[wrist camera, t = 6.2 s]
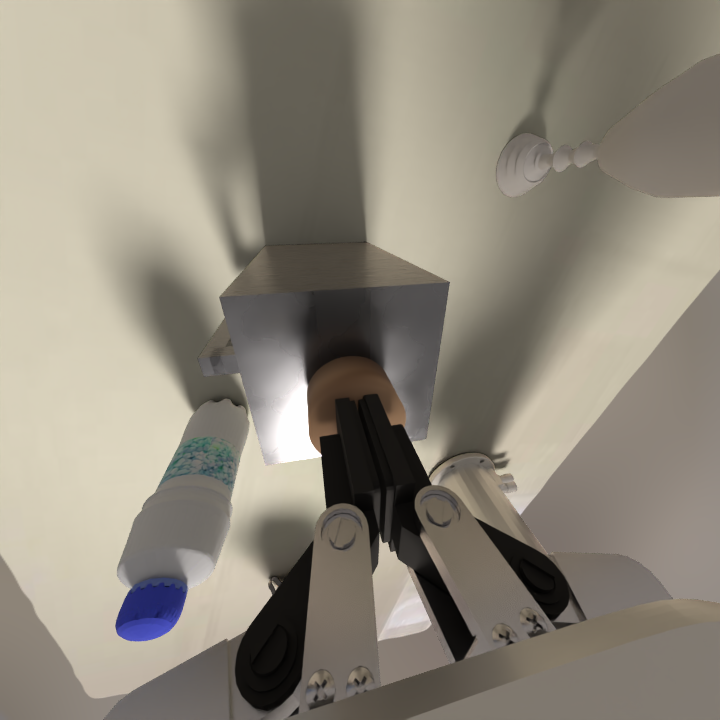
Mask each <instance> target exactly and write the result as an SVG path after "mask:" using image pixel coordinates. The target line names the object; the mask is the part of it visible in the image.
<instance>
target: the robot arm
mask: <svg viewBox="0 0 720 720" xmlns="http://www.w3.org/2000/svg"><path fill="white" fill-rule="evenodd" d="M335 410H336V423H337V434H333V435H327V436H321V437H319V438H320V448H321V459H322V469H323V479H324V489H325V499H326V510H325V511H324V512H323V513H322V514H321V516H320V517H319V519H318V521H317V523H316V528H315V533H314V540H313V542H312V543H311V544H310V546H309V547H308V548H307V550H306V551H305V552H304V554H303V555H302V556H301V558H300V559H299V560H298V562H297V563H296V564H295V566H294V567H293V568H292V570H291V571H290V572H289V574H288V575H287V576H286V578H285V579H284V581H283V582H282V583H281V585H280V586H279V587H278V589H277V590H276V591H275V593H274V594H273V595H272V597H271V598H270V599H269V601H268V602H267V603H266V605H265V606H264V607H263V609H262V610H261V611H260V613H259V614H258V615H257V617H256V618H255V619H254V621H253V622H252V623H251V625H250V626H249V628H248V629H247V631H245V632H244V633H242V634H240V635H238V636H237V637H235V638H233V639H231V640H229V641H228V639H225V640H223V641H221V642H219V643H218V644H216V645H214V646H212V647H210V648H209V649H207V650H205V651H203V652H201V653H200V654H198V655H196V656H194V657H192V658H191V659H189V660H187V661H185V662H183V663H182V664H180V665H178V666H176V667H174V668H173V669H171V670H169V671H167V672H166V673H164V674H162V675H160V676H158V677H157V678H155V679H153V680H151V681H149V682H148V683H146V684H144V685H142V686H140V687H139V688H137V689H135V690H133V691H132V692H130V693H129V694H128V695H127V696H125V697H124V698H123V699H121V700H120V701H119V702H118V703H117V704H116V705H115V706H114V707H113V708H112V710H111V711H110V712H109V713H108V714H107V716H106V717H105V718H104V719H103V720H720V603H717V602H710V601H704V600H698V599H673V598H672V597H671V595H670V594H669V593H668V591H667V590H666V589H665V588H664V586H663V585H662V584H661V582H660V581H659V580H658V579H657V578H656V577H655V576H654V575H653V573H651V571H650V570H648V569H647V568H646V567H644V566H643V565H642V564H640V563H639V562H637V561H635V560H633V559H631V558H629V557H627V556H623V555H619V554H602V553H576V552H551V554H550V555H549V554H547V552H546V551H545V550H544V548H543V547H542V546H541V544H540V543H539V541H538V540H537V539H536V537H535V536H534V534H533V533H532V532H531V530H530V529H529V528H528V526H527V525H526V523H525V522H524V521H523V519H522V518H521V516H520V515H519V514H518V512H517V511H516V509H515V508H514V507H513V505H512V504H511V503H510V501H509V500H508V498H507V497H506V496H505V494H504V493H510V492H515V491H517V486H516V483H515V482H514V478H513V476H512V475H511V474H510V473H509V474H504V475H501V476H499V475H497V474H496V473H495V466H494V464H493V462H492V461H491V460H490V459H489V457H487V456H486V455H483V454H481V453H466V454H461V455H458V456H455V457H453V458H451V459H449V460H447V461H446V462H444V463H443V464H441V465H440V466H439V467H438V468H437V469H436V470H435V471H434V472H433V473H432V475H431V476H430V478H428V476H427V474H426V471H425V469H424V467H423V465H422V463H421V461H420V459H419V457H418V455H417V453H416V451H415V449H414V447H413V445H412V443H411V441H410V439H409V436H408V434H407V432H406V430H405V428H404V427H403V425H402V424H397V425H391V424H390V421H389V419H388V417H387V414H386V412H385V410H384V407H383V405H382V403H381V400H380V398H379V396H378V394H370V395H364V396H363V399H361V400H358V409H357V406H356V403H355V400H353V401H350V399H349V397H348V398H340V399H335ZM379 532H380V536H381V539H382V542H383V543H385V542H388V544H389V548H390V551H391V552H393V551H396V554H397V557H398V559H399V560H400V561H402V562H403V563H404V564H406V565H407V567H408V571H409V573H410V576H411V578H412V580H413V582H414V585H415V587H416V589H417V591H418V594H419V596H420V598H421V600H422V603H423V605H424V607H425V609H426V612H427V614H428V616H429V618H430V621H431V623H432V625H433V627H434V630H435V632H436V634H437V636H438V638H439V641H440V643H441V645H442V647H443V650H444V652H445V654H446V657H447V659H448V661H449V663H450V664H449V665H446V666H443V667H440V668H437V669H434V670H430V671H427V672H424V673H421V674H419V675H415V676H412V677H409V678H406V679H403V680H400V681H397V682H394V683H391V684H388V685H385V686H382V687H381V682H380V669H379V656H378V644H377V630H376V617H375V604H374V591H373V579H372V575H373V573H374V571H375V569H376V567H377V565H378V554H379Z"/></svg>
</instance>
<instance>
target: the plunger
mask: <svg viewBox="0 0 720 720" xmlns="http://www.w3.org/2000/svg"><path fill="white" fill-rule="evenodd" d="M370 394H378V396H379V398H380V400H381V403H382V405H383V407H384V410H385V412H386V414H387V417H388V419H389V421H390V424H391V425H397V424H402V425H403V427H405V423H406V413H405V409H404V406H403V404H402V402H401V401H400V399H399V397H398V395H397V393H396V391H395V389H394V387H393V385H392V384H391V382H390V380H389V378H388V376H387V374H386V372H385V371H384V369H383V368H382V367H381V366H380V365H379V364H377V363H376V362H374V361H372V360H370V359H368V358H365V357H360V356H346V357H341V358H337V359H335V360H332V361H330V362H328V363H326V364H325V365H323V366H322V367H321V368H320V369H319V370H317V371H316V373H315V374H314V375H313V377H312V378H311V380H310V382H309V384H308V388H307V410H308V432H309V439H310V441H311V444H312V445H313V447H314V448H315V449H316V450H317V452H319V453H320V454H321V448H320V438H319V437H321V436H327V435H333V434H337V423H336V410H335V399H340V398H348V397H349V399H350V401H353V400H355V403H356V406H357V409H358V400H361V399H363V396H364V395H370Z"/></svg>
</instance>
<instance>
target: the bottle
mask: <svg viewBox="0 0 720 720" xmlns="http://www.w3.org/2000/svg"><path fill="white" fill-rule="evenodd" d="M248 432H249V420H248V418H247V413H246V410H245V408H244V407H243V406H242V405H239V406H235V405H233V404H232V402H231V400H230V399H223V400H222V401H220V402H214V401H212V400H210V401H207V402H205V403H204V404H203V405H201V407H200V408H199V409H198V410H197V411H196V412H195V413H194V414H193V415H192V417H191V418H190V420H189V422H188V424H187V427H186V429H185V431H184V434H183V437H182V439H181V442H180V444H179V447H178V449H177V450H176V452H175V454H174V456H173V458H172V460H171V462H170V464H169V466H168V468H167V470H166V472H165V474H164V476H163V478H162V480H161V482H160V484H159V486H158V488H157V490H156V492H155V493H154V494H153V495H152V496H150V497H149V498H148V499H147V500H146V502H145V503H144V505H143V507H142V511H141V512H140V513H139V514H138V515H137V517H136V518H135V520H134V522H133V525H132V529H131V532H130V534H129V537H128V540H127V543H126V546H125V548H124V551H123V554H122V557H121V559H120V562H119V565H118V568H117V576H118V578H119V580H120V581H121V582H122V583H123V584H124V585H125V586H126V587H128V588H130V589H131V590H130V591H129V592H128V594H127V596H126V598H125V600H124V602H123V605H122V607H121V609H120V611H119V614H118V617H117V621H116V625H115V626H116V631H117V634H118V635H119V636H120V637H122V638H124V639H126V640H129V641H147V640H152V639H155V638H158V637H160V636H162V635H164V634H166V633H167V632H169V631H170V630H171V629H172V628H173V627H174V625H175V624H176V623H177V621H178V619H179V617H180V615H181V612H182V610H183V606H184V603H185V599H186V595H187V591H188V589H190V588H192V587H195V586H197V585H199V584H201V583H202V582H204V581H205V580H206V579H208V577H209V576H210V575H211V574H212V572H213V570H214V569H215V566H216V563H217V560H218V558H219V555H220V552H221V549H222V546H223V543H224V541H225V538H226V536H227V533H228V531H229V528H230V517H231V515H232V505H231V502H230V500H231V496H232V492H233V488H234V484H235V479H236V475H237V471H238V466H239V462H240V457H241V454H242V451H243V448H244V445H245V442H246V439H247V435H248Z"/></svg>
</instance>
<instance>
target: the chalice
mask: <svg viewBox="0 0 720 720" xmlns="http://www.w3.org/2000/svg"><path fill="white" fill-rule="evenodd" d="M596 159H597V160H598V166H599V167H600V169H601V170H602V171H603V172H605V173H606V174H608V175H610V176H611V177H613V178H615V179H616V180H618V181H620V182H621V183H623V184H625V185H626V186H628V187H630V188H632V189H635V190H638V191H640V192H643V193H646V194H649V195H652V196H655V197H662V198H680V197H712V196H720V54H717V55H715V56H712V57H709V58H707V59H704V60H701V61H700V62H698V63H697V64H695V65H694V66H692V67H691V68H689V69H688V70H686V71H685V72H683V73H682V74H680V75H679V76H677V77H676V78H674V79H673V80H671V81H670V82H668V83H667V84H665V85H664V86H662V87H661V88H660V89H658V90H657V91H655V92H654V93H653V94H652V95H650V96H649V97H648V98H646V99H645V100H644V101H643V102H641V103H640V104H639V105H638V106H637V107H635V108H634V109H633V110H632V111H631V112H629V113H628V114H627V115H626V116H624V117H623V118H622V119H621V120H620V121H618V122H617V123H616V124H615V125H614V126H612V127H611V128H610V129H609V131H608V132H607V133H606V134H605V136H604V138H603V140H602V141H601V144H592V142H590V141H584V142H583V143H581V144H580V145H579V146H578V147H577V148H575V149H572V148H571V146H569V145H563V146H561V147H560V148H559V149H558V150H557V151H556V152H555V153H553V149H552V146H551V145H550V143H549V142H548V141H547V140H545V139H544V138H540V137H539V136H536V135H534V134H532V133H523V134H520V135H518V136H516V137H515V138H513V139H512V140H511V141H510V142H509V143H508V144H507V145H506V147H505V148H504V150H503V151H502V153H501V156H500V158H499V160H498V165H497V170H496V177H497V183H498V186H499V189H500V190H501V191H502V192H503V194H505V195H507V196H509V197H518V196H521V195H523V194H525V193H526V192H528V191H529V190H531V189H532V188H534V187H535V186H537V185H538V184H539V183H541V182H542V181H543V180H544V178H545V177H546V176H547V174H548V172H549V170H550V168H551V167H554V169H555V170H556V171H557V172H561V171H564V170H565V169H566V168H567V167H568V166H569V165H570V164H575V165H576V166H577V167H584V166H586V165H587V164H588V163H589V162H591V161H594V160H596Z"/></svg>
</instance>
